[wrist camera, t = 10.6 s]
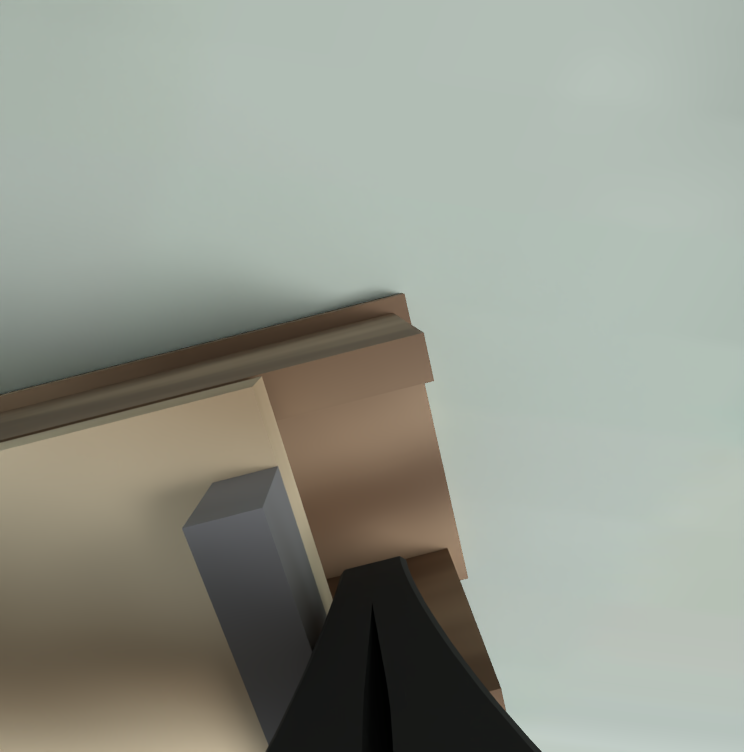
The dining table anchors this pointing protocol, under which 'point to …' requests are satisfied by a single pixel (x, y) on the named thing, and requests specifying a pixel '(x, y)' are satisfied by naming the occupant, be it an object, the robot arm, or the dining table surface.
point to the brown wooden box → (318, 439)
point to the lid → (155, 580)
